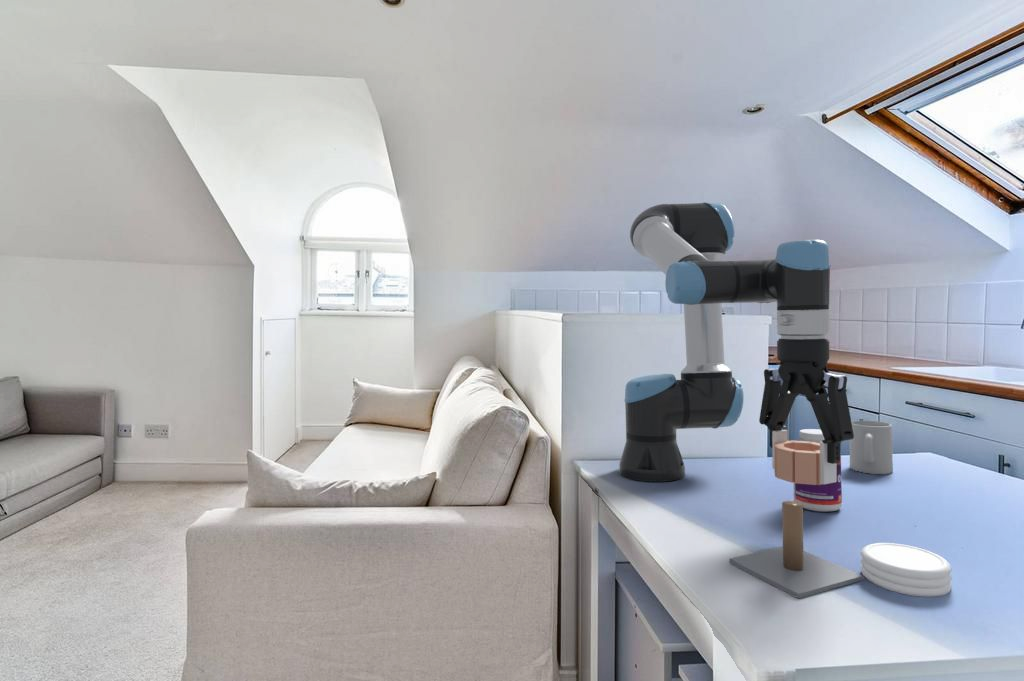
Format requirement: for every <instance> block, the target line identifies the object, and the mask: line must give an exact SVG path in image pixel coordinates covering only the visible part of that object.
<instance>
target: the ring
mask: <svg viewBox="0 0 1024 681" xmlns="http://www.w3.org/2000/svg"><path fill="white" fill-rule="evenodd" d="M773 470H774V471H773V473H774V476H775V478H776V479H779V480H783V481H786V482H789V483H791V484H792V483H793V484H794V482H795V483H798V484H810V485H817V484H818V485H822V484H821V483H820V443H816V442H810V441H801V440H792V439H791V440H788V441H782V442H775V443H774V469H773Z"/></svg>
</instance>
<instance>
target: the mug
mask: <svg viewBox="0 0 1024 681" xmlns="http://www.w3.org/2000/svg"><path fill="white" fill-rule="evenodd" d="M851 423H852V428H853V434H854V438H853V439H851V440H849V469H851V470H852V469H853V470H852V471H854V470H855V471H854V472H857V471H859V472H858V473H861V472H863V473H862V474H866V473H870V474H869V475H877V474H884V475H890V474H893V472H894V467H893V466H894V463H893V425H892V424H891V423H889V422H884V421H878V420H877V421H876V420H851Z"/></svg>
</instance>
